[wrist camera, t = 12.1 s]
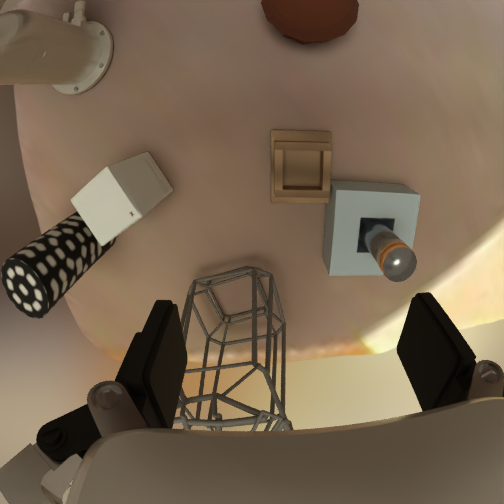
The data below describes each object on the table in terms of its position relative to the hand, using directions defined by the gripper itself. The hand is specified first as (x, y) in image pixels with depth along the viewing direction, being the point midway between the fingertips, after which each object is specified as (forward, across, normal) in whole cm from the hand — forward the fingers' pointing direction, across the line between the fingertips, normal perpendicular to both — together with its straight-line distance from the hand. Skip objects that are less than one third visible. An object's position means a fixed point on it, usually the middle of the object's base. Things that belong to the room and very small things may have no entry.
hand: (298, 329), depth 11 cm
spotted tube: (+35, +29, +9) cm, 46 cm away
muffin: (+34, -6, -22) cm, 41 cm away
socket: (+33, -14, +8) cm, 37 cm away
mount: (+34, -4, 0) cm, 34 cm away
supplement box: (+34, +19, +2) cm, 39 cm away
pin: (+32, -14, +8) cm, 36 cm away
